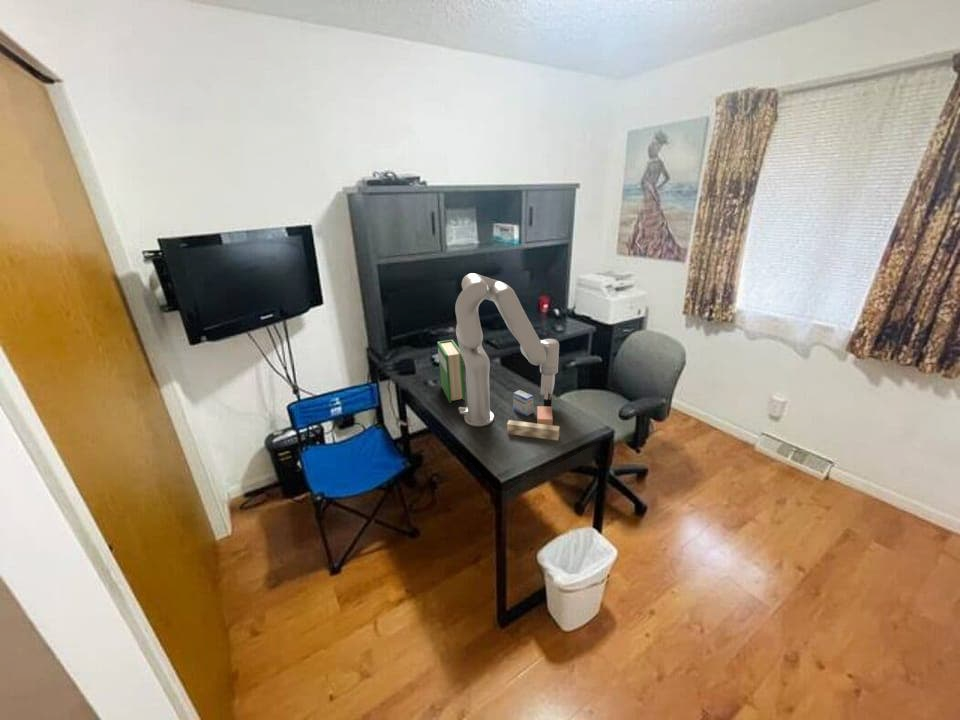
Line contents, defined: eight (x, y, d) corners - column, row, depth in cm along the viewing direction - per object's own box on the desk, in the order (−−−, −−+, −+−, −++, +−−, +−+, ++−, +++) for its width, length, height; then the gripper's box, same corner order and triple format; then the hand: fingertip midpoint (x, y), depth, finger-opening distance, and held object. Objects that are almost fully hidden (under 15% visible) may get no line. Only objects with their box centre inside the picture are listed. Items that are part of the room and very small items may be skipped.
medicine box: (512, 410, 168) (512, 392, 165) (519, 406, 171) (519, 389, 168) (526, 416, 163) (527, 398, 160) (533, 412, 166) (533, 395, 162)
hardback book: (465, 400, 178) (462, 352, 168) (449, 403, 176) (445, 355, 167) (455, 383, 194) (452, 339, 184) (441, 386, 192) (437, 341, 182)
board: (507, 433, 152) (507, 424, 150) (508, 429, 155) (508, 420, 153) (558, 440, 147) (558, 430, 145) (559, 436, 149) (559, 426, 148)
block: (537, 427, 156) (537, 418, 154) (537, 414, 165) (537, 406, 163) (552, 427, 155) (552, 419, 154) (551, 414, 164) (551, 406, 163)
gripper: (542, 360, 168) (541, 396, 176) (537, 374, 155) (536, 413, 163) (559, 361, 166) (557, 398, 174) (556, 376, 153) (554, 415, 161)
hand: (547, 405), depth 168 cm, fingers closed
